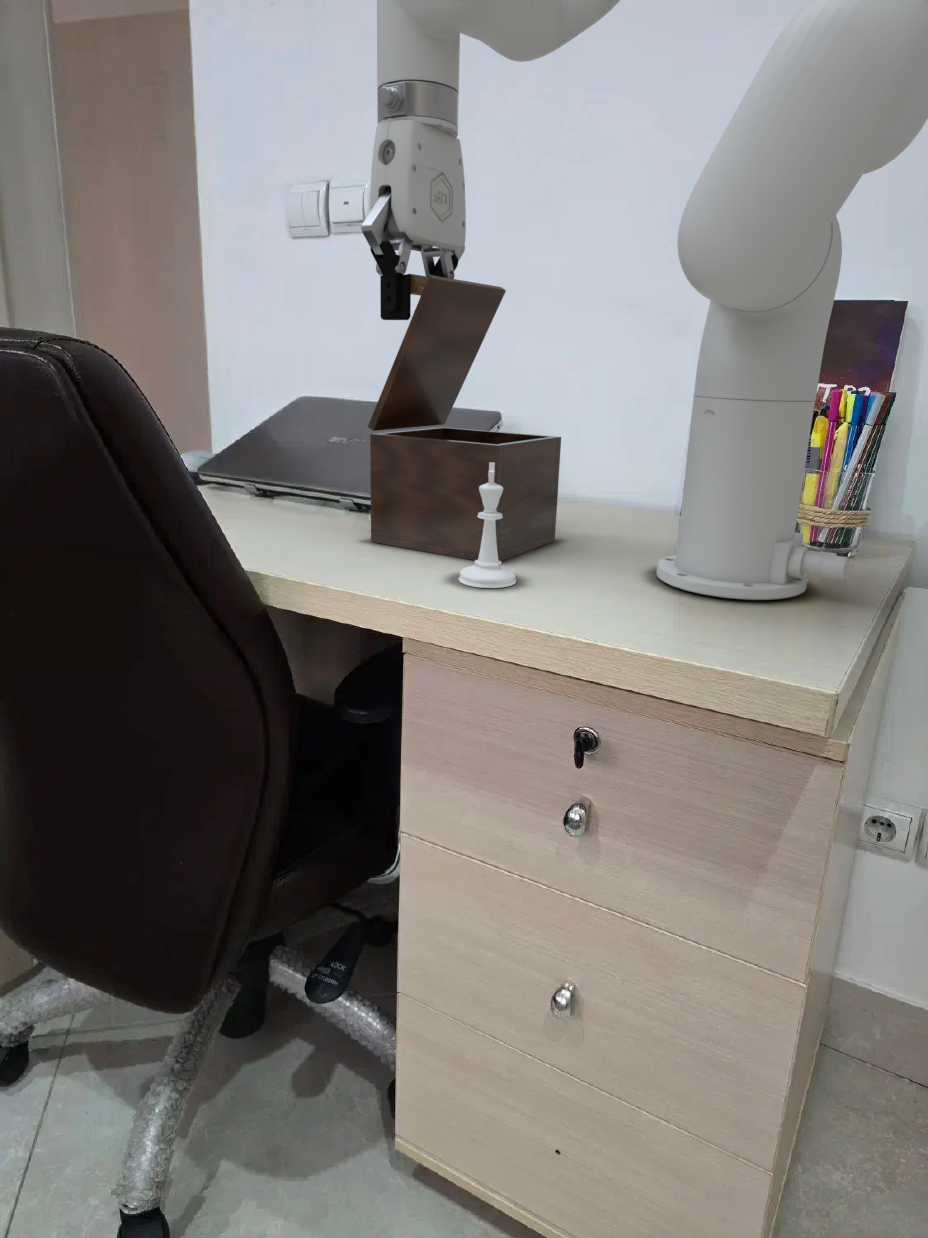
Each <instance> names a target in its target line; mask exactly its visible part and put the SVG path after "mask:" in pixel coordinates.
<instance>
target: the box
mask: <svg viewBox="0 0 928 1238" xmlns="http://www.w3.org/2000/svg"><path fill="white" fill-rule="evenodd" d="M369 436H370V437H369V438H370V439H369V441H370V443H369V444H370V449H369V450H370V452H369V453H370V455H369V457H370V460H369V461H370V542H371V543H375V544H380V545H386V546H393V547H398V548H403V549H410V550H414V551H415V550H416V551H420V552H426V553H431V554H437V555H443V556H448V557H449V556H450V557H455V558H461V559H466V560H471V561H475V560H478V557H479V552H480V547H481V541H482V534H483V527H484V519H481V518H478V517H477V516H478V513H479V512H484V511H483V510H484V505H483V502H482V498H481V494H480V491H479V487H480V486H481V485H483V484H486V483H488V481H489V477H488V472H489V463H495V475H494V483H496V484H497V485H501V486H502V487H503V492H502V495H501V497H500V499H499V503H498V506H497V508H496V510H497V512H499V513H501V514H502V516H503V518H501V519H497V520H495V525H496V542H497V553H498V560H499V561H501V562H502V561H505V560H508V559H511V558H513V557H517V556H519V555H521V554H524V553H527V552H529V551H532V550H535V549H538V548H541V547H544V546H546V545H548V544H552V543H554V542H556V527H557V514H558V513H557V512H558V499H559V498H558V496H559V481H560V465H561V464H560V463H561V449H562V436H555V435H544V434H530V433H520V432H519V433H518V432H506V431H495V430H482V429H471V428H460V427H459V428H458V427H445V426H441V427H440V426H439V427H428V428H419V429H406V430H396V431H387V432H386V431H385V432H376V433H370V435H369Z"/></svg>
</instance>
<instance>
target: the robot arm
mask: <svg viewBox="0 0 928 1238" xmlns="http://www.w3.org/2000/svg"><path fill="white" fill-rule="evenodd" d="M620 1H621V0H376V49H377V50H376V57H377V58H376V78H377V79H376V85H377V86H376V87H377V90H376V91H377V125H376V129H375V135H374V141H373V148H372V159H371V160H372V161H371V171H370V172H371V173H370V191H369V193H370V197H369V198H370V199H369V200H370V201H369V205H370V206H369V207H370V208H369V210H370V211H369V213H368V214H367V216H366V217H365V219H364V220H363V222H362V223H361V227H360V228H361V232H362V234H363V237H364V238H365V240H366V242H367V244H368V246H369V247H370V248H369V250H370V253H371V255H372V257H373V259H374V260H375V263H376V264H375V271H376V273H377V274H378V276H380V277H379V278H380V280H379V281H380V283H379V284H380V292H379V293H380V297H379V298H380V318H381V320H383V321H409V320H411V319H410V318H411V311H412V310H411V309H412V308H411V307H412V306H411V305H412V304H411V302H412V300H411V295H412V294H411V275H408V274H409V273H407V269H408V265H409V262H410V261H409V260H410V257H411V252H412V251H415V252H420V255H421V259H422V264H423V269H424V276H427V277H429V275H433V276H439V277H445V278H451V279H455V271H456V269H457V268H458V266H459V261H460V260H461V258H462V257H463V255H464V253H465V251H466V245H465V244H466V237H467V235H466V231H467V230H466V229H467V220H466V219H467V215H466V214H467V213H466V211H467V210H466V184H465V183H466V182H465V169H464V168H465V167H464V159H463V151H462V145H461V140H460V138H457V137H458V136H459V104H460V103H459V101H460V99H459V98H460V97H459V94H460V58H461V57H460V56H461V54H460V53H461V49H460V48H461V34H462V35H464V36H467V37H469V38H471V39H474V40H477V41H479V42H481V43H483V44H484V45H486V46H487V47H489V48H490V49H492V50H493V51H494V52H495V53H497V54H499V55H500V56H502V57H504V58H506V60H507V59H508V60H510V61H512V62H513V61H514V62H518V63H519V62H520V63H524V62H531V61H535V60H538V59H541V58H543V57H545V56H547V55H549V54H551V53H553V52H555V51H556V50H558V49H559V48H561V47H563V46H564V45H566V44H567V43H569V42H570V41H572V40H573V39H576V37H578V36H579V35H581V34H582V33H584V32H585V31H586V30H588V29H589V28H591V27H592V26H594V25H596V23H598V22H599V21H601V20H602V19H603V18H604V17H605V16H606V15H607V14H608V13H609V12H611V11H612V10H613V9H614V8H615V6H617V5H618V4H619V3H620ZM927 120H928V0H808V2H806V3H805V4H804V5H803V6H802V7H801V8H800V9H799V10H798V12H796V13H795V14H794V15H793V17H792V18H791V19H790V20H789V21H788V23H787V24H786V25H785V26H784V28H783V29H782V31H780V33H779V35H778V36H777V38H776V39H775V41H774V42H773V44H772V46H771V47H770V48H769V50H768V52H767V54H766V56H765V57H764V59H763V61H762V63H761V64H760V66H759V68H758V70H757V72H756V74H755V75H754V77H753V79H752V80H751V83H750V84H749V86H748V87H747V90H746V91H745V93H744V95H743V97H742V98H741V100H740V102H739V104H738V106H737V108H736V109H735V111H734V113H733V115H732V116H731V118H730V121H729V122H728V124H727V126H726V127H725V129H724V131H723V133H722V135H721V137H720V138H719V140H718V142H717V144H716V146H715V147H714V149H713V151H712V153H711V155H710V156H709V159H708V160H707V162H706V164H705V166H704V167H703V169H702V170H701V172H700V174H699V177H698V179H697V180H696V182H695V184H694V186H693V188H692V190H691V192H690V193H689V196H688V198H687V201H686V203H685V206H684V208H683V211H682V214H681V217H680V220H679V226H678V231H677V256H678V260H679V264H680V267H681V270H682V272H683V274H684V276H685V278H686V280H687V281H688V283H689V284H690V286H691V287H692V288H693V289H695V291H696V292H698V293H699V294H700V295H701V296H702V297H704V298H706V299H707V300H709V305H708V310H707V315H706V319H705V323H704V328H703V332H702V336H701V342H700V348H699V352H698V359H697V364H696V365H697V366H696V372H695V381H694V391H693V396H692V405H691V406H692V407H691V416H690V425H689V433H688V442H687V443H688V444H687V451H686V453H687V454H686V461H685V470H684V471H685V472H684V480H683V489H682V491H683V492H682V499H681V507H680V516H679V527H678V536H677V544H676V553H675V554H673V555H669V556H665V557H663V558H661V559H659V560H658V562H657V563H656V574H655V575H656V576H657V577H658V579H659V580H660V581H662V582H663V583H665V584H667V585H669V586H671V587H674V588H677V589H680V590H682V591H686V592H690V593H695V594H699V595H705V596H710V597H717V598H722V599H735V600H748V601H749V600H750V601H770V600H783V599H789V598H793V597H797V596H799V595H801V594H804V593H805V592H806V590H807V587H808V576H807V575H811V576H817V577H819V578H820V579H821V578H822V579H828V580H835V581H841V582H843V581H845V578H846V574H847V569H848V564H849V558H848V556H841V555H838V554H837V552H829V551H824V550H823V551H822V550H820V551H817V550H810V549H809V548H808V546H804V545H803V540H804V533H802V532H796V528H797V521H798V515H799V509H800V503H801V495H802V489H803V481H804V476H805V470H806V462H807V456H808V449H809V442H810V436H811V429H812V423H813V418H814V417H813V416H814V410H815V404H816V400H817V393H818V387H819V380H820V374H821V367H822V362H823V355H824V349H825V345H826V339H827V334H828V328H829V325H830V319H831V315H832V311H833V307H834V301H835V297H836V294H837V290H838V289H837V288H838V285H839V279H840V278H839V277H840V273H841V268H842V267H841V265H842V257H843V242H842V232H841V228H840V223H839V219H838V217H837V215H838V213H839V212H840V210H841V209H842V207H844V204H845V203H846V201H847V199H848V198H849V197H850V195H851V193H852V192H853V190H854V189H855V187H856V186H857V184H858V183H859V181H860V180H861V178H862V177H863V176H864V175H866V174H869V173H872V172H875V171H877V170H879V169H881V168H883V167H885V166H886V165H888V164H890V163H891V162H893V161H894V160H896V158H898V157H899V155H901V154H902V153H903V152H904V151H905V150H907V148H909V146H910V145H911V144H912V142H913V141H914V140H915V139H916V137H917V136H918V134H920V132H921V131H922V129H923V128H924V126H925V124H926V123H927ZM396 251H397V253H396ZM434 258H438V259H437V261H436V262H435V261H434V260H435V259H434ZM406 273H407V274H406Z"/></svg>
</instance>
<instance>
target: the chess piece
mask: <svg viewBox="0 0 928 1238" xmlns="http://www.w3.org/2000/svg"><path fill="white" fill-rule="evenodd" d="M494 475H495V463H489V472H488V477H489V481H488V483H486V484H483V485H481V486H480V487H479V491H480V494H481V498H482V502H483V505H484V510H483V511H484V512H479V513H478V516H477V517H478V518H481V519H484V527H483V534H482V541H481V547H480V552H479V557H478V560H474V564H473V565H468V566H465V567H464V568H462V569H461V570H460V571H459V577H458V581H459V582H460V583H461V584H463V585H465V586H469V587H472V588H479V589H502V588H508V587H511V586H514V585H515V584H516V583H517V579H516V572H515V571H514V570H513V569H511V568H509V567H507V566H504V565H502V564H503V562H502V561H499V560H498V553H497V542H496V525H495V520H497V519H501V518H503V516H502V514H501V513H499V512H497V510H496V508H497V506H498V503H499V499H500V497H501V495H502V492H503V487H502V486H501V485H497V484H496V483H494Z"/></svg>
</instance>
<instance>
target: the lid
mask: <svg viewBox="0 0 928 1238" xmlns="http://www.w3.org/2000/svg"><path fill="white" fill-rule="evenodd" d="M407 274H408V275H411V295H413V296H419V300H418V302H417V304H416V306H415V309H414V312H413V314H412V317H411V319H410V322H409V324H408V326H407V329H406V331H405V334H404V336H403V339H402V341H401V344H400V346H399V349H398V350H397V353H396V355H395V358H394V361H393V363H392V366H391V368H390V371H389V373H388V375H387V379H386V381H385V383H384V386H383V388H382V391H381V393H380V395H379V397H378V400H377V402H376V405H375V407H374V409H373V410H374V411H373V413H372V415H371V417H370V420H369V422H368V425H367V428H368V429H370V430H371V431H373V432H377V431H388V430H399V429H410V428H411V429H412V428H420V427H421V428H422V427H432V426H443V425H444V426H445V425H446V422H447V420H448V418H449V416H450V414H451V412H452V409H453V408H454V405H455V403H456V401H457V399H458V396H459V394H460V393H461V391H462V388H463V385H464V383H465V381H466V379H467V377H468V375H469V372H470V370H471V368H472V366H473V364H474V361H475V359H476V357H477V355H478V352H479V351H480V349H481V346H482V344H483V342H484V340H485V337H486V335H487V333H488V331H489V329H490V326H491V324H492V322H493V321H494V318H495V316H496V314H497V311H498V309H499V307H500V305H501V302H502V300H503V298H504V296H505V294H506V292H507V289H505V288H504V287H501V286H499V285H498V286H497V285H492V284H486V283H480V282H474V281H468V280H462V279H455V278H454V279H451V278H445V277H439V276H433V275H429V277H427V276H426V275H421V274H414V273H407Z"/></svg>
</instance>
